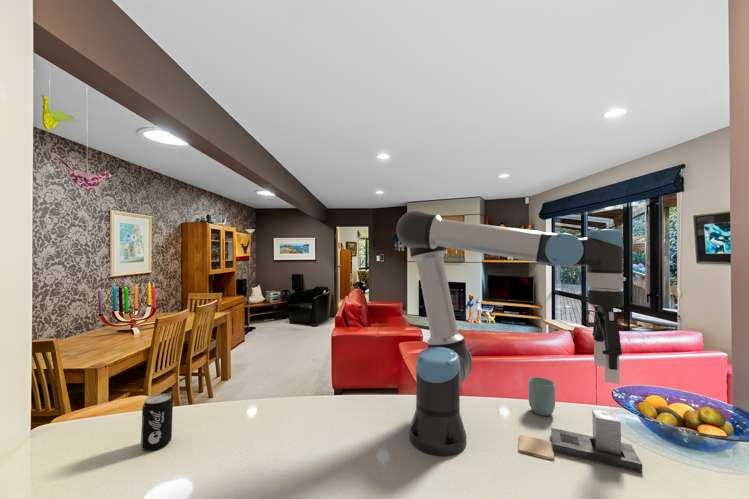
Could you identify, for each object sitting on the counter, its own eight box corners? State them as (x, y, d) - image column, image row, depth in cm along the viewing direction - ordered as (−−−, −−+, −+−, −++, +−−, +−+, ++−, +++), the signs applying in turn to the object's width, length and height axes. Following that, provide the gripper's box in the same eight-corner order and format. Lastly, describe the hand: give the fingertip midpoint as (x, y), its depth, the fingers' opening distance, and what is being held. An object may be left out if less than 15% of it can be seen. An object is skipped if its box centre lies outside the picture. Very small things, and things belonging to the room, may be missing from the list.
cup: (559, 419, 99) (558, 387, 99) (532, 417, 100) (531, 384, 101) (550, 408, 106) (550, 378, 107) (525, 406, 108) (525, 376, 108)
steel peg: (596, 458, 79) (595, 417, 80) (592, 447, 84) (592, 409, 84) (621, 464, 77) (620, 421, 78) (616, 453, 82) (615, 413, 82)
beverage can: (177, 441, 84) (178, 395, 85) (150, 455, 79) (152, 405, 79) (161, 435, 87) (163, 391, 88) (135, 448, 81) (136, 400, 82)
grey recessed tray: (553, 452, 82) (553, 443, 82) (551, 435, 90) (551, 427, 90) (642, 473, 74) (642, 463, 74) (631, 452, 82) (631, 444, 82)
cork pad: (518, 451, 82) (518, 449, 82) (519, 436, 89) (519, 434, 89) (554, 460, 78) (554, 458, 78) (552, 444, 85) (552, 441, 85)
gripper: (638, 294, 69) (639, 394, 68) (611, 287, 92) (612, 362, 91) (596, 292, 72) (597, 387, 72) (580, 285, 95) (581, 358, 94)
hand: (605, 373), depth 81 cm, fingers open, 13 cm apart
